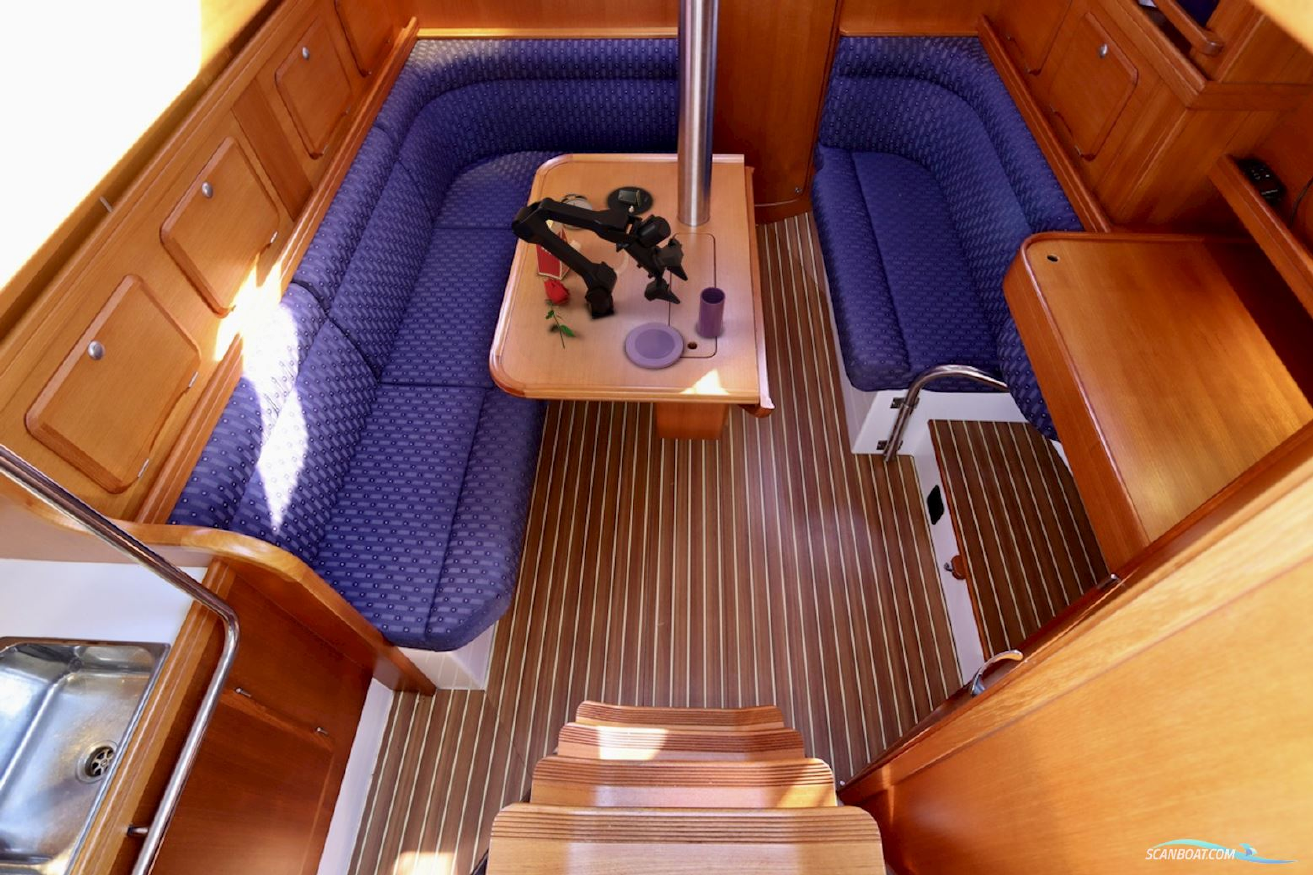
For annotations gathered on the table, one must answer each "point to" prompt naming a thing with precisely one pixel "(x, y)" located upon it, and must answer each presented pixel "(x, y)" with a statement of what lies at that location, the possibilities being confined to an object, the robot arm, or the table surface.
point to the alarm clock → (576, 204)
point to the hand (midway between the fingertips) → (683, 291)
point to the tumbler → (711, 312)
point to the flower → (557, 301)
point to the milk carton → (546, 260)
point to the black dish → (630, 200)
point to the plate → (654, 345)
